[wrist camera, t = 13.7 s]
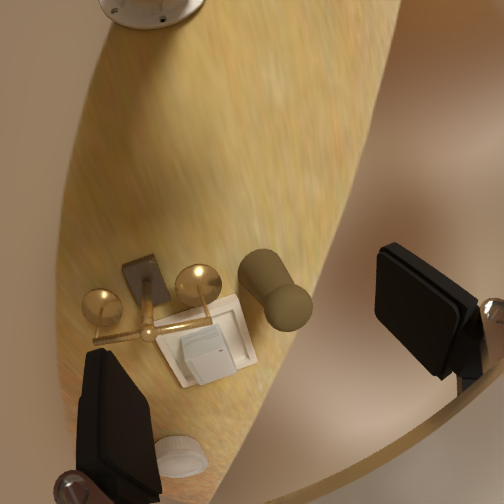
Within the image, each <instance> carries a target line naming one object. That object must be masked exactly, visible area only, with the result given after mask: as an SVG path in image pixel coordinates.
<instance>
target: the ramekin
mask: <svg viewBox="0 0 504 504" xmlns="http://www.w3.org/2000/svg"><path fill="white" fill-rule="evenodd" d="M155 452H156V458H157V464H158V469H159V475H161V476H164V477H170V478H183V477H189V476H193V475H196V474H199V473H201V472H203V471H204V470H205V469H206V468H207V467H208V459H207V457H206V456H205V454H204V452H203V450H202V448H201V446H200V444H199V443H198V442H197V441H196V440H195V439H193V438H191V437H188V436H181V435H175V436H168V437H165V438H162V439H160V440H159V441H157V442H156V443H155Z"/></svg>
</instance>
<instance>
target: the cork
mask: <svg viewBox="0 0 504 504" xmlns="http://www.w3.org/2000/svg"><path fill="white" fill-rule="evenodd" d="M238 277H239V280H240V282H241V283H242V285H243V286H244V287H245V288H246V289H247V290H248V291H249V292H250V293H251V294H252V295H253V296H254V297H255V298H256V299H257V300H258V302H259V303H260V304H261V305H262V306H263V307H264V313H265V316H266V319H267V321H268V323H269V324H270V325H271V326H272V327H273V328H275V329H277V330H279V331H283V332H291V331H295V330H297V329H299V328H301V327H302V326H304V325H305V324H306V323H307V321H308V320H309V319H310V317H311V315H312V309H313V303H312V299H311V297H310V295H309V294H308V293H307V291H306V290H305V289H303V288H301V287H300V286H298V285H295V284H294V282H293V280H292V278H291V277H290V275H289V273H288V271H287V269H286V268H285V266H284V264H283V262H282V261H281V259H280V257H279V256H278V255H277V253H275V252H273V251H272V250H268V249H258V250H255V251H253V252H251V253H249V254H248V255H247V256H246V257H245V258H244V259H243V260H242V262H241V263H240V266H239V269H238Z"/></svg>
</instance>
